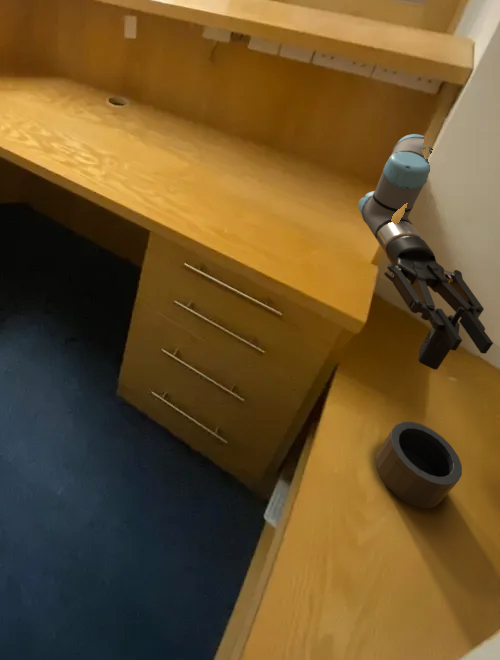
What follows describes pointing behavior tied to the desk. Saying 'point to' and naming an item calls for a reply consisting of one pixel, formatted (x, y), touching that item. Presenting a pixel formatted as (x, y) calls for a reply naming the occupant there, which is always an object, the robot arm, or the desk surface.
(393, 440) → the gray ring cup
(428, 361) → the walkie-talkie
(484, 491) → the desk surface
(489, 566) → the desk surface
